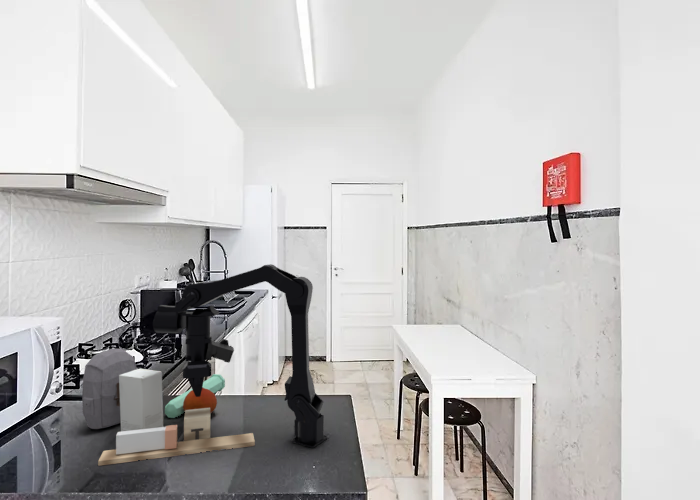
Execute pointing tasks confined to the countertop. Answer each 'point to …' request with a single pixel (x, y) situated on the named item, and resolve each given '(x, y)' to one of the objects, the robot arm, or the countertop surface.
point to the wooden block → (197, 424)
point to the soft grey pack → (104, 387)
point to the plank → (180, 449)
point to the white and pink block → (146, 439)
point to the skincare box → (141, 399)
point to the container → (176, 405)
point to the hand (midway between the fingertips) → (198, 396)
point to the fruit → (200, 400)
